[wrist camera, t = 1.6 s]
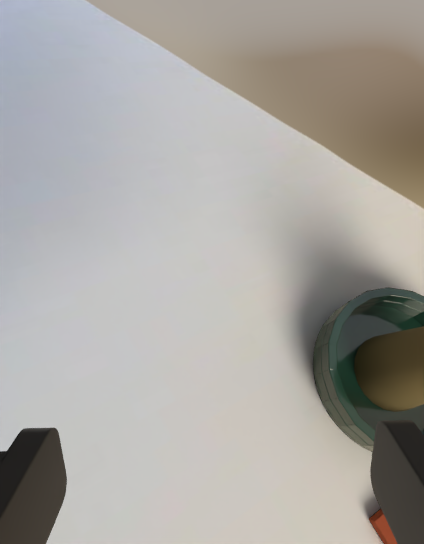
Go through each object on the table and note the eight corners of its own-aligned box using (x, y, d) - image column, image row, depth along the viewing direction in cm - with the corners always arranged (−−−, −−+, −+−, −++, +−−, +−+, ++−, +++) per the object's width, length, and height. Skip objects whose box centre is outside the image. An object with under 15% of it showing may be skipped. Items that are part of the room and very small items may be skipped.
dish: (283, 342, 31) (295, 332, 28) (392, 277, 35) (412, 263, 32) (379, 494, 28) (404, 500, 25) (488, 403, 32) (520, 400, 29)
